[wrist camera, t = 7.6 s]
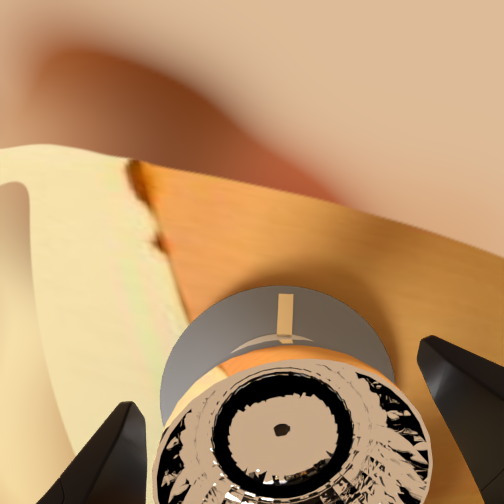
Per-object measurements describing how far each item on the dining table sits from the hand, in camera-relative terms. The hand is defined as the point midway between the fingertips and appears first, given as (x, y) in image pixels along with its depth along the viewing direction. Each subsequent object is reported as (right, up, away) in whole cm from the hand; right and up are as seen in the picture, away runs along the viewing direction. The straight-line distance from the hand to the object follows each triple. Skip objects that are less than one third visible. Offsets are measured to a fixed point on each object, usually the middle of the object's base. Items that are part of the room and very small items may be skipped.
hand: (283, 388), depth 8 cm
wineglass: (0, -4, +7) cm, 8 cm away
